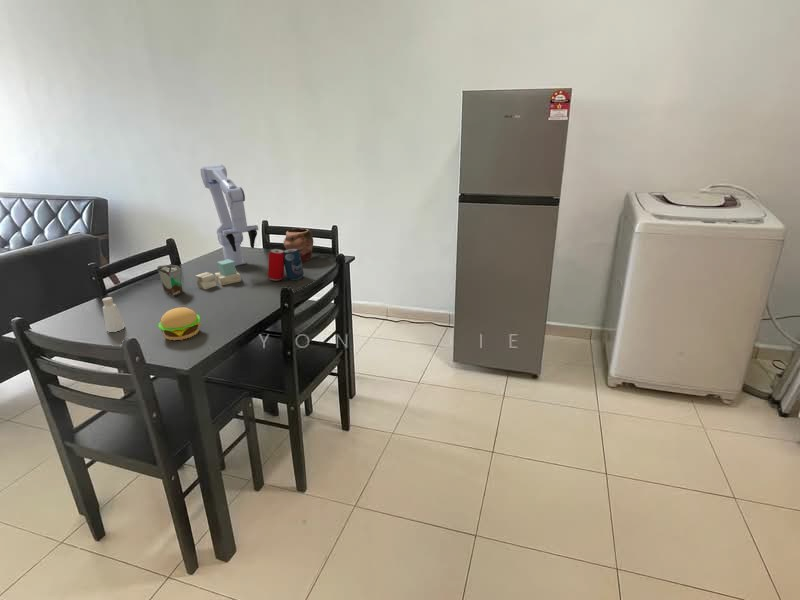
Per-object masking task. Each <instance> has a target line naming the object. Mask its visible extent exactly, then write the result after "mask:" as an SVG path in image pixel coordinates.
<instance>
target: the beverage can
mask: <svg viewBox="0 0 800 600" xmlns="http://www.w3.org/2000/svg"><path fill="white" fill-rule="evenodd" d="M267 267H268V268H267V271H268V272H267V278H268V279H269V280H271V281H280V280H281V281H282V280H283V279H284V276H285V265H284V250H283V249H280V248H273V249H272V248H271V249H270V251H269V253H268V266H267Z"/></svg>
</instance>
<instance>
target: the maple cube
mask: <svg viewBox="0 0 800 600" xmlns="http://www.w3.org/2000/svg"><path fill="white" fill-rule="evenodd" d="M195 279H196V283H197V288H199V289H202V290H208V289H210V288H213V287H216V286H217V283H216V282H217V281H216V277H215V273H214V274H213V273H212V272H209V271H205V272H202V273H200V274H195Z"/></svg>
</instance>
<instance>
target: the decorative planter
mask: <svg viewBox="0 0 800 600" xmlns="http://www.w3.org/2000/svg"><path fill="white" fill-rule="evenodd" d="M282 243H283V246H284V248H285V249H289V248H297V249H298V251H299V252H300V257H301V262H302V263H303V262H307V261H310V260H311V259H312V255H313V248H314V247H313V246H314V237H313V233H312V231H311V230H309V229H308V228H291V229H288V230H287V231H286V232H285V238H284V240H283V241H282Z"/></svg>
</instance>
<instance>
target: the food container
mask: <svg viewBox="0 0 800 600" xmlns="http://www.w3.org/2000/svg"><path fill="white" fill-rule="evenodd" d="M157 272H158V275H159V278H160V282H161V285H162V286H161V287H162V288H163V292H165V293H166V292H167V293H166V294H168V293H169V294H168V295H170V296H171V295H172V296H171V297H173V298H175V297H177V296H180V295H182V293H183V292H184V291H183V284H182V278H181V277H182V276H181V275H182V273H183V272H182V269H181V268H180V266H178V265H175V264H164V265H158V266H157Z"/></svg>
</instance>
